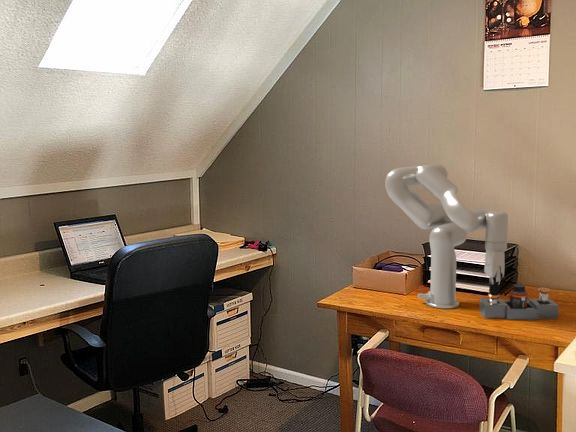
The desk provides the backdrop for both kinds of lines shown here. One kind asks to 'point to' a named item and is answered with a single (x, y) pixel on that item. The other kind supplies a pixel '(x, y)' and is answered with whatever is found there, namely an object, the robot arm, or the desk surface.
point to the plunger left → (493, 298)
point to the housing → (519, 310)
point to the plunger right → (543, 295)
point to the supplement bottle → (518, 296)
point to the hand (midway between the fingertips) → (494, 294)
